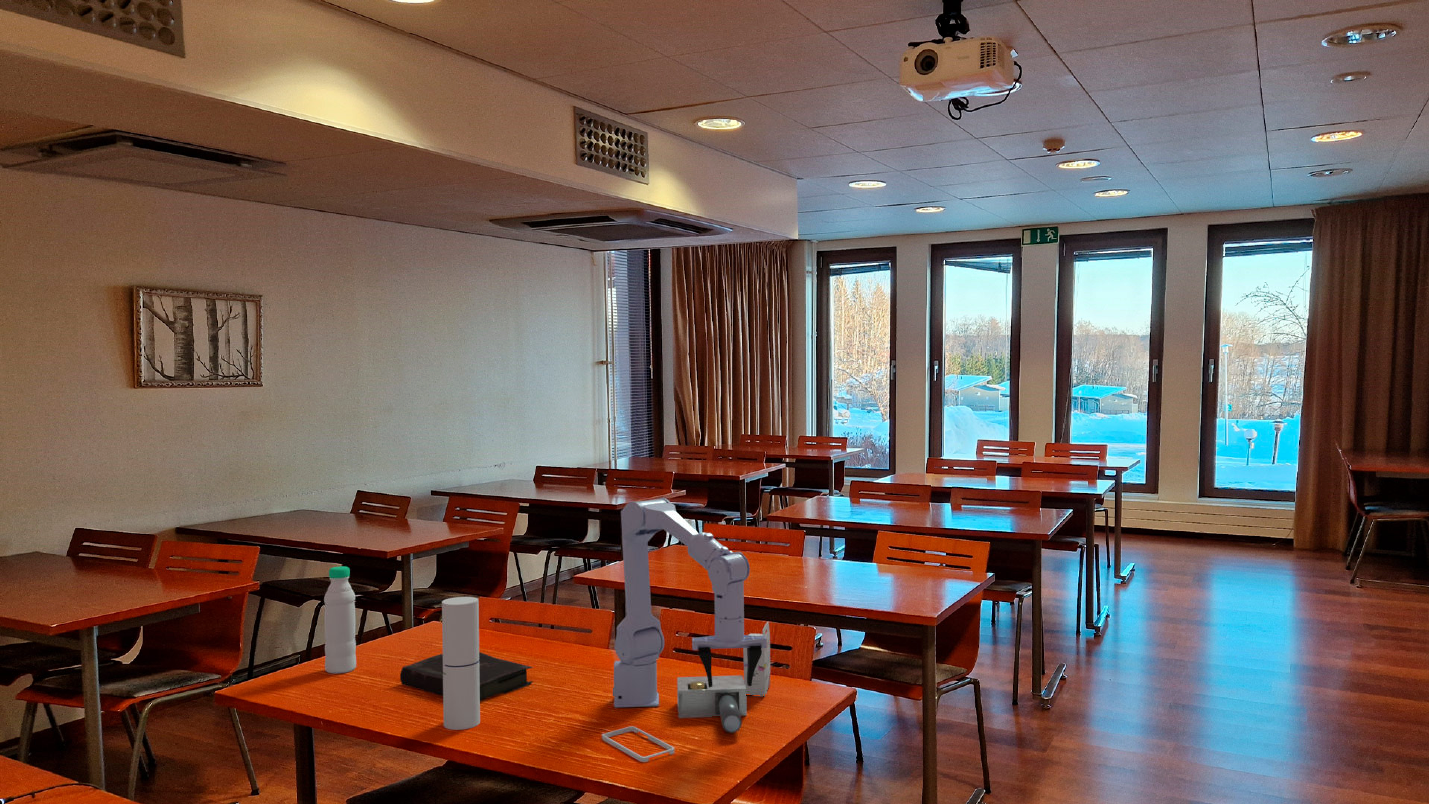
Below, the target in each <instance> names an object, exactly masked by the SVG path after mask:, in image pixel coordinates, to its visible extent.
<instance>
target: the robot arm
mask: <svg viewBox="0 0 1429 804" xmlns="http://www.w3.org/2000/svg"><path fill="white" fill-rule="evenodd" d="M620 517H621V518H620V520H621V521H620V522H621V539H622V540H621V541H622V555H623V578H624V592H625V596H624V597H625V611H626V615H625V617H624V618H623V619H622V620H621V622H620V623H619V624H618V625H617V627H616V637H615V641H614V651H615V654H616V656H617V658H618V659H619V660H615V661H614V663H613V687H612V696H613V701H614V702H613V707H614V708H634V707H635V708H637V707H639V708H641V707H645V708H646V707H659V706H660V694H659V692H658V684H657V683H658V679H657V678H658V674H657V673H658V672H657V671H658V669H657V664H658V663H657V660H658V659H660V654H661V653H662V652H663V650H664V648H665V637H664V634H663V631H662V628H661V621H660V620H659V619H658V618H657V617H655V616H654V615H653V614H652V603H651V602H652V600H651V599H652V598H651V584H650V583H651V581H650V565H649V564H650V563H649V562H650V561H649V546H648V544H649V543H648V542H649V541H650V540H651V539H652V538H653V537H654V535H655V534H656V533H658V532H659V531H662V530H664V531H665V532H666V533H668V534H669V535H671V536H672V537H674V538H675V539H676V540H678V541H679V542H680V543H682V544H684V545H685V546H686V547H687V553H688V556H689V557H691V558H692V559H693V560H694V561H695V562H697V563H698V564H699V565H700V566H701V567H703V568H704V569H705V570H706V571H707V575H708V578H709V581H710V582H711V587H712V588H711V589H712V590H711V591H712V592H713V594H714V635H709V636H702V637H701V636H700V637H692V638H691V641H692V642H691V645H692V646H691V647H692V651H697V653H698V657H699V658H700V659H699V660H701V663H702V665H703V668H704V670H705V675H706V676H707V678H708V686H709V687H712V676H713V673H712V657H713V655H712V649H713V650H714V649H715V650H716V649H718V650H719V649H743V648H747V660H748V668H747V684H748V686H752V679H753V675H754V671H755V668H756V666H757V663H758V661H759V659H760V657H761V654H762V650H761V648H767V638H766V636H751V635H749V634H748V635H747V634H746V635H745V611H744V610H745V608H744V607H745V603H744V602H745V599H744V596H745V594H744V593H745V592H744V590H745V589H744V585H745V583H744V581H746V580H747V579H748V578H749V576H750V573H751V572H750V571H751V567H750V563H749V561H748V558H747V557H746V556H745V555H744V554H743V553H742V552H741V551H736V552H735V551H734V552H733V551H732V550H729V548H728V547H727V546H724V545H723V544H721V543H720V542H719V541H717V540H716V538H714V535H713V534H712V533H711V532H698V531H697V530H696V529H695V528H694V527H693V526H692V525H691V524H689V522H687V520H685V519H684V518H683V517H682V516H681V515H680V514H679V513H678V512H677V509H676V505H675V504H673V503H671V501H670V500H669V499H667V498H665V497H660V498H655V499H649V500H640V501H629V502H628V503H626V504H625V506H624V507H623V508H622V509H621V511H620Z"/></svg>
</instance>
